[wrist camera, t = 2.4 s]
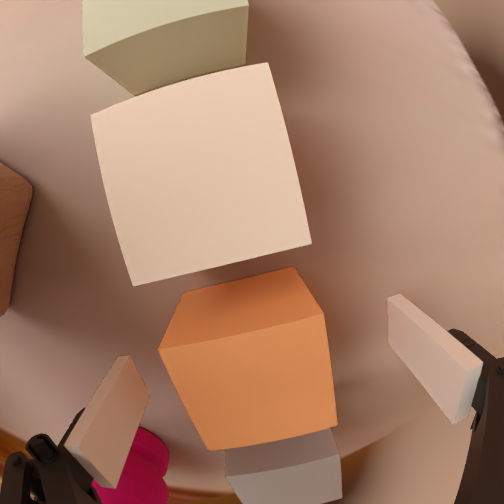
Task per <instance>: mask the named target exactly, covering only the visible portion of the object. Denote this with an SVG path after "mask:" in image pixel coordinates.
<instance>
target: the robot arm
mask: <svg viewBox="0 0 504 504" xmlns="http://www.w3.org/2000/svg"><path fill="white" fill-rule="evenodd" d="M387 312H388V344H389V345H390V346H391V348H392V349H393V350H394V351H395V352H396V354H397V355H398V356H399V357H400V359H401V360H402V361H403V362H404V363H405V365H406V366H407V367H408V368H409V370H410V371H411V372H412V373H413V375H414V376H415V377H416V378H417V380H418V381H419V382H420V383H421V385H422V386H423V387H424V388H425V390H426V391H427V392H428V393H429V395H430V396H431V397H432V399H433V400H434V401H435V402H436V404H437V405H438V406H439V408H440V409H441V410H442V411H443V413H444V414H445V415H446V417H447V418H448V419H449V421H450V422H451V423H452V425H454V424H456V423H458V422H459V421H461V420H463V419H464V418H466V417H468V415H469V412H470V409H471V406H472V407H473V408H474V409H475V410H476V414H475V417H474V420H473V423H472V425H471V428H470V429H473V430H472V436H471V441H470V446H469V451H468V456H467V460H466V464H465V468H464V472H463V476H462V480H461V483H460V486H459V490H458V493H457V496H456V499H455V502H454V504H504V357H503V358H498V359H496V358H495V357H494V356H493V355H491V354H490V353H489V352H488V351H487V350H485V349H484V348H483V347H482V346H480V345H479V344H478V343H476V342H475V341H474V340H473V339H471V338H470V337H469V336H468V335H467V334H465V333H464V332H462V331H459V330H456V329H454V328H453V329H451V330H449V331H446V330H445V329H444V328H442V327H441V326H440V325H439V324H437V323H436V322H435V321H434V320H433V319H431V318H430V317H429V316H428V315H426V314H425V313H424V312H423V311H421V310H420V309H419V308H418V307H416V306H415V305H414V304H412V303H411V302H410V301H409V300H407V299H406V298H405V297H404V296H402V295H401V294H397V295H394V296H391V297H388V298H387ZM149 398H150V394H149V392H148V390H147V388H146V386H145V384H144V382H143V380H142V378H141V376H140V374H139V372H138V370H137V368H136V366H135V364H134V362H133V360H132V358H131V356H130V355H127V356H119V357H118V358H117V359H116V361H115V362H114V364H113V365H112V367H111V368H110V370H109V372H108V373H107V375H106V376H105V378H104V379H103V381H102V383H101V384H100V386H99V387H98V389H97V390H96V392H95V394H94V395H93V397H92V399H91V400H90V402H89V403H88V405H87V407H86V408H83V409H82V410H81V411H80V412H79V413H78V414H77V415H76V416H75V418H74V420H73V421H72V422H73V423H71V425H70V426H69V429H68V430H67V431H66V433H65V434H64V436H63V438H62V440H61V441H60V443H59V445H58V446H56V445H55V443H54V442H53V441H52V440H51V438H50V437H49V436H48V435H46V434H38V435H35V436H33V437H32V438H31V439H30V440H29V441H28V442H27V444H26V450H27V451H28V452H29V453H30V455H31V456H32V457H33V458H34V459H30V460H29V459H28V457H27V456H26V455H25V454H24V453H22V452H15V453H12V454H11V455H10V456H9V457H8V458H7V460H6V463H5V468H4V474H3V479H2V485H1V492H0V504H102V502H101V500H100V498H99V495H98V493H97V491H96V489H95V488H94V487H93V485H92V482H93V479H94V480H95V481H96V482H97V483H98V484H99V485H100V486H101V487H107V488H114V489H116V487H117V484H118V481H119V478H120V475H121V473H122V470H123V467H124V464H125V461H126V459H127V456H128V453H129V450H130V448H131V445H132V442H133V439H134V437H135V434H136V431H137V429H138V426H139V423H140V421H141V418H142V416H143V413H144V410H145V408H146V405H147V403H148V400H149ZM30 493H32V494H33V495H34V500H32V499H31V497H30Z"/></svg>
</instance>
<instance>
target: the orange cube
mask: <svg viewBox="0 0 504 504" xmlns="http://www.w3.org/2000/svg"><path fill="white" fill-rule="evenodd" d="M158 352H159V354H160V356H161V358H162V361H163V363H164V365H165V367H166V370H167V372H168V374H169V376H170V378H171V380H172V382H173V385H174V387H175V389H176V391H177V393H178V395H179V397H180V399H181V401H182V403H183V405H184V407H185V409H186V411H187V413H188V415H189V416H190V418H191V420H192V422H193V424H194V426H195V428H196V429H197V431H198V433H199V435H200V437H201V438H202V440H203V442H204V444H205V445H206V447H207V449H208V451H213V450H222V449H230V448H237V447H244V446H251V445H257V444H262V443H268V442H273V441H278V440H283V439H287V438H292V437H296V436H300V435H304V434H308V433H312V432H316V431H320V430H323V429H327V428H330V427H334V426H337V414H336V404H335V395H334V386H333V377H332V369H331V361H330V354H329V346H328V339H327V332H326V325H325V319H324V313H323V312H322V310H321V308H320V307H319V305H318V304H317V302H316V300H315V299H314V297H313V296H312V294H311V293H310V291H309V289H308V288H307V286H306V285H305V283H304V282H303V280H302V279H301V277H300V275H299V274H298V272H297V271H296V269H295V268H294V267H289V268H285V269H281V270H277V271H273V272H269V273H265V274H261V275H257V276H253V277H248V278H244V279H240V280H236V281H231V282H227V283H223V284H219V285H214V286H210V287H206V288H201V289H197V290H193V291H188V292H184V294H183V296H182V298H181V300H180V302H179V304H178V307H177V309H176V311H175V313H174V315H173V317H172V319H171V322H170V324H169V326H168V328H167V330H166V332H165V335H164V337H163V339H162V341H161V343H160V346H159V348H158Z"/></svg>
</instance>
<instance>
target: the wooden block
mask: <svg viewBox="0 0 504 504" xmlns="http://www.w3.org/2000/svg"><path fill="white" fill-rule="evenodd" d="M31 198H32V186H31V184H30V183H29V181H28V180H26V179H25V178H24V177H22V176H21V175H19V174H18V173H16V172H15V171H13V170H12V169H10V168H9V167H7V166H6V165H4V164H3V163H1V162H0V317H1V316H2V315H4V313H5V312H6V310H7V308H8V306H9V304H10V298H11V290H12V283H13V276H14V270H15V264H16V259H17V254H18V249H19V244H20V240H21V235H22V231H23V227H24V223H25V219H26V216H27V212H28V209H29V205H30V202H31Z"/></svg>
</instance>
